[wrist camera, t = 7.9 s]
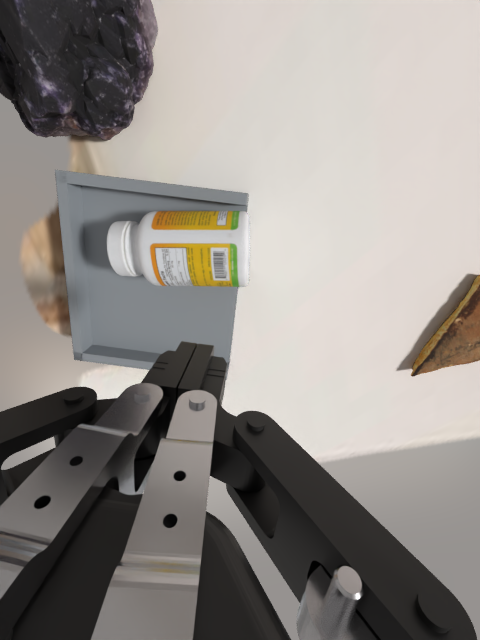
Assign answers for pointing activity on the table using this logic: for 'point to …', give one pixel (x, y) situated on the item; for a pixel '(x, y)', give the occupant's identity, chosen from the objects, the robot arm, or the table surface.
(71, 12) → the crystal cluster
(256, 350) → the table surface
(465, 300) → the shard
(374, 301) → the table surface
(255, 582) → the robot arm
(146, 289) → the tray
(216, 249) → the supplement bottle
